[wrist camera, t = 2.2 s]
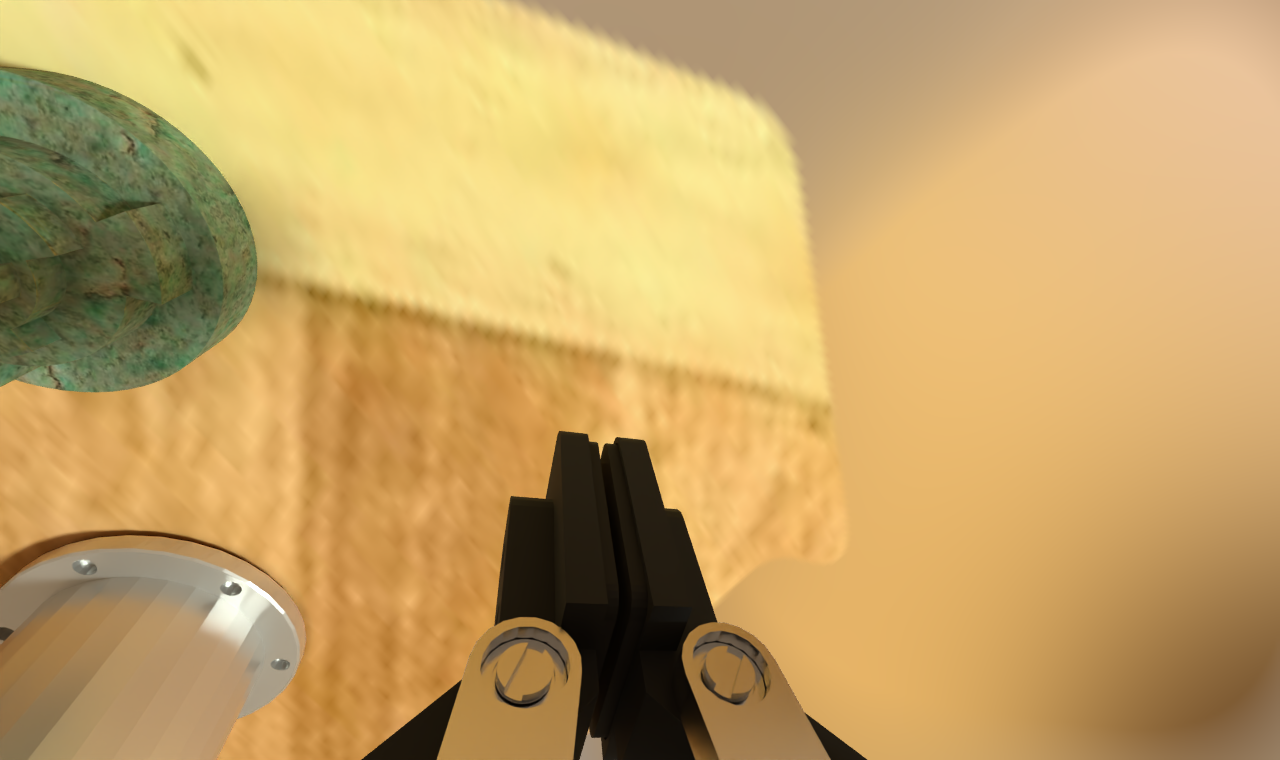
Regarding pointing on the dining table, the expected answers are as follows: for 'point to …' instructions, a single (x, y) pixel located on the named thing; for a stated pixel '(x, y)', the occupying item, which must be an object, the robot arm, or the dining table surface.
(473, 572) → the dining table surface
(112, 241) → the decorative artifact
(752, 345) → the dining table surface
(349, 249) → the dining table surface
